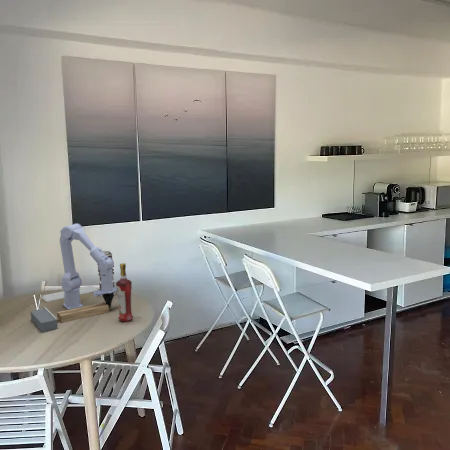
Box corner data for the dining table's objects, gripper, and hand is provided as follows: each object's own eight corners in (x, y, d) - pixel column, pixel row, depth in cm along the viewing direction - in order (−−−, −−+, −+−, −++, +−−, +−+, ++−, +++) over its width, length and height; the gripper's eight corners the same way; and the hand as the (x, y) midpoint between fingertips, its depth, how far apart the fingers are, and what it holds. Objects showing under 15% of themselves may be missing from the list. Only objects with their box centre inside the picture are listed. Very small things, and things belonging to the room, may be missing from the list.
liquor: (115, 320, 229) (111, 264, 224) (127, 316, 234) (124, 261, 229) (123, 323, 224) (120, 266, 219) (136, 319, 229) (133, 263, 224)
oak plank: (49, 320, 229) (48, 314, 229) (104, 308, 245) (104, 302, 245) (52, 324, 225) (52, 317, 224) (108, 311, 241) (108, 305, 240)
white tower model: (96, 297, 265) (93, 253, 261) (102, 292, 274) (100, 250, 270) (112, 297, 264) (109, 253, 260) (118, 292, 273) (115, 250, 269)
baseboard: (100, 292, 276) (91, 287, 285) (99, 287, 275) (91, 283, 285) (46, 304, 257) (39, 298, 266) (46, 298, 256) (39, 293, 265)
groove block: (31, 319, 231) (30, 309, 230) (45, 316, 235) (45, 307, 234) (42, 332, 215) (41, 321, 214) (57, 328, 219) (56, 318, 218)
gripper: (96, 286, 234) (97, 312, 236) (123, 281, 242) (124, 306, 244) (91, 283, 240) (92, 308, 242) (118, 278, 248) (119, 302, 250)
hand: (108, 307), depth 243 cm, fingers closed
